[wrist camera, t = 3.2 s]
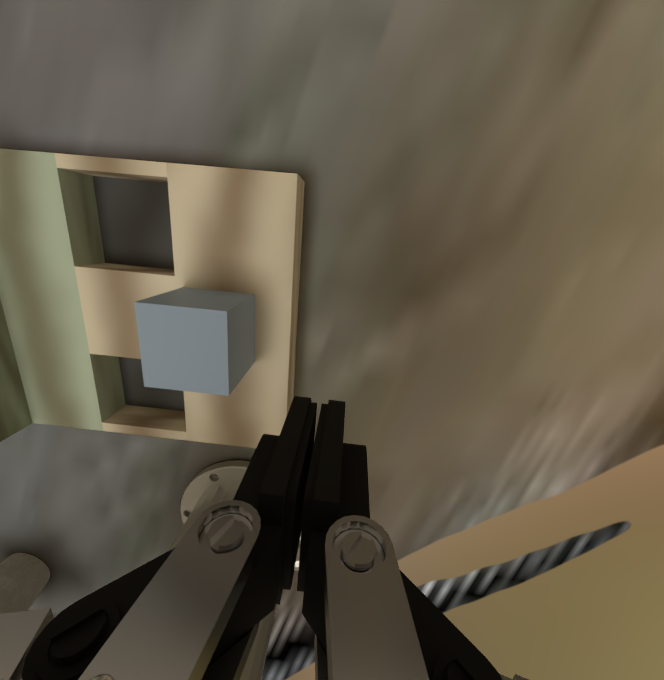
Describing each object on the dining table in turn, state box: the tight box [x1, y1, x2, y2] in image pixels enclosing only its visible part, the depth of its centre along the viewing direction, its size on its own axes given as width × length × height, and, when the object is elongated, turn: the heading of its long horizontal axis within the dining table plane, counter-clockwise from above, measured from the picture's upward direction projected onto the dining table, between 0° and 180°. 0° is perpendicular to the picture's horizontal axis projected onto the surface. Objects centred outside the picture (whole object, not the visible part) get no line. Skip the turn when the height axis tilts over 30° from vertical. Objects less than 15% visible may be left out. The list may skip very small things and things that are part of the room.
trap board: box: [0, 148, 305, 448], centre depth 22 cm, size 22×20×6 cm
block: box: [134, 287, 255, 396], centre depth 20 cm, size 5×5×5 cm
